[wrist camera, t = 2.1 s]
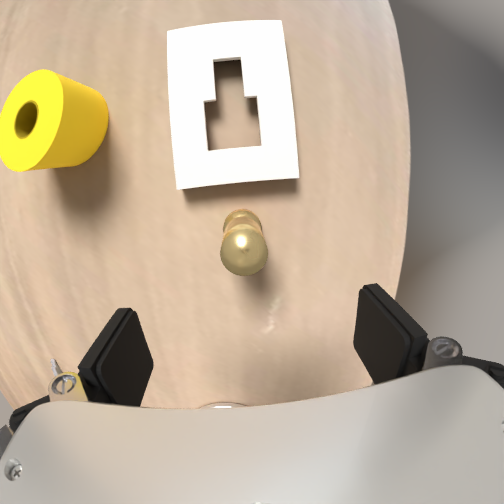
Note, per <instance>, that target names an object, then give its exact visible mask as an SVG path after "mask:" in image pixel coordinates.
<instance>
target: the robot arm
mask: <svg viewBox="0 0 504 504" xmlns="http://www.w3.org/2000/svg"><path fill="white" fill-rule="evenodd" d="M427 335H428V334H427V333H426V332H425V331H424V330H423V328H422V327H421V326H420V325H419V324H418V323H417V322H416V321H415V320H414V319H413V318H412V317H411V316H410V315H409V314H408V313H407V312H406V311H405V310H404V309H403V308H402V307H401V306H400V305H399V304H398V303H397V302H396V301H395V300H394V299H393V298H392V297H391V296H390V295H389V294H388V293H387V292H386V291H385V290H384V289H382V288H381V287H380V286H379V285H378V284H377V283H375V284H369V285H364V286H363V289H360V291H359V298H358V308H357V317H356V325H355V333H354V340H353V343H354V348H355V350H356V352H357V353H358V355H359V357H360V359H361V360H362V362H363V364H364V366H365V367H366V369H367V371H368V373H369V374H370V376H371V378H372V380H373V382H374V383H375V385H371V386H367V387H363V388H359V389H355V390H351V391H347V392H342V393H338V394H333V395H328V396H322V397H317V398H311V399H305V400H299V401H292V402H285V403H277V404H268V405H258V406H245V405H241V404H236V403H214V404H209V405H206V406H203V407H201V408H199V409H176V408H152V407H140V405H141V402H142V399H143V396H144V393H145V390H146V387H147V384H148V381H149V378H150V375H151V372H152V370H153V359H152V356H151V354H150V351H149V348H148V345H147V342H146V340H145V337H144V334H143V331H142V328H141V325H140V321H139V318H138V315H137V313H136V311H133V310H132V309H131V308H118V309H117V310H116V312H115V313H114V315H113V316H112V317H111V319H110V320H109V322H108V323H107V324H106V326H105V327H104V329H103V330H102V331H101V333H100V334H99V336H98V337H97V339H96V340H95V342H94V343H93V344H92V346H91V347H90V349H89V350H88V352H87V353H86V355H85V356H84V358H83V359H82V361H81V363H80V364H79V366H78V369H79V373H78V375H77V374H76V373H74V372H64V373H61V374H59V375H57V376H56V377H54V378H53V379H52V380H51V382H50V384H49V386H48V391H49V395H47V396H45V397H43V398H41V399H38V400H36V401H34V402H32V403H29V404H27V405H25V406H22V407H20V408H18V409H16V410H15V411H14V412H13V414H12V415H11V417H10V421H9V423H10V424H9V425H10V426H9V427H8V426H7V425H5V426H3V427H2V428H1V429H0V504H504V366H503V365H501V364H499V363H495V362H491V361H486V360H481V359H476V358H471V357H466V356H463V355H462V353H463V352H462V347H461V345H460V344H459V343H458V342H457V341H456V340H454V339H452V338H449V337H436V338H433V339H432V340H431V341H430V340H429V339H428V338H427Z"/></svg>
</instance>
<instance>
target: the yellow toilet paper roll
mask: <svg viewBox="0 0 504 504" xmlns="http://www.w3.org/2000/svg"><path fill="white" fill-rule="evenodd" d="M108 117H109V116H108V107H107V104H106V101H105V99H104V98H103V96H102V95H101V94H100V93H99V92H97V91H96V90H94V89H91V88H89V87H87V86H85V85H83V84H80V83H78V82H76V81H73V80H71V79H69V78H66V77H64V76H62V75H59V74H57V73H54V72H52V71H49V70H37V71H34V72H32V73H30V74H29V75H27V76H26V77H24V78H23V79H22V80H21V81H20V82H19V83H18V84H17V85H16V86H15V88H14V89H13V90H12V92H11V93H10V95H9V97H8V98H7V100H6V102H5V104H4V107H3V109H2V112H1V115H0V156H1V158H2V160H3V162H4V164H5V165H6V166H7V167H8V168H9V169H11V170H13V171H17V172H21V171H29V170H38V169H48V168H59V167H71V166H77V165H80V164H82V163H84V162H85V161H87V160H88V159H89V158H90V157H92V156H93V154H94V153H95V152H96V151H97V150H98V148H99V147H100V145H101V143H102V141H103V139H104V137H105V134H106V131H107V127H108Z"/></svg>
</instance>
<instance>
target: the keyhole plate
mask: <svg viewBox="0 0 504 504" xmlns="http://www.w3.org/2000/svg"><path fill="white" fill-rule="evenodd" d="M167 60H168V90H169V108H170V123H171V136H172V147H173V158H174V168H175V177H176V186H177V190H179V189H187V188H194V187H202V186H211V185H219V184H229V183H239V182H249V181H261V180H274V179H289V178H299V168H298V155H297V143H296V132H295V121H294V111H293V102H292V93H291V85H290V77H289V69H288V61H287V54H286V47H285V41H284V34H283V28H282V22H281V20H253V21H235V22H223V23H214V24H206V25H199V26H192V27H186V28H181V29H176V30H171V31H167ZM228 60H241V67H242V77H243V88H244V98H257V107H258V118H259V128H260V139H261V146H252V147H240V148H230V149H221V150H212V151H208V141H207V130H206V118H205V105H204V103H205V102H213V101H216V91H215V78H214V64H213V62H219V61H228Z"/></svg>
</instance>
